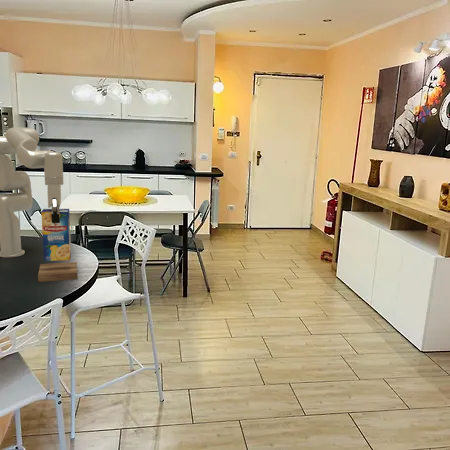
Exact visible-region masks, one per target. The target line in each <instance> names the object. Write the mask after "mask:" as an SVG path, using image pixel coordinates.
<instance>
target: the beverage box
mask: <svg viewBox="0 0 450 450" xmlns="http://www.w3.org/2000/svg"><path fill="white" fill-rule="evenodd" d="M40 214H41V228H42V229H41V231H42V248H43V262H53V261H54V262H55V261H70V260H71V257H72V242H71V241H72V240H71V239H72V238H71V222H70V221H71V219H70V216H71V215H70V208H59V217H60V223H52V217H51V214H52V208H43V209H42V210H41V213H40Z"/></svg>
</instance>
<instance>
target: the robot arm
mask: <svg viewBox="0 0 450 450" xmlns="http://www.w3.org/2000/svg"><path fill="white" fill-rule="evenodd" d="M39 142H40V135H39V132H38V131H37V130H36V129H35V128H33V127H22V126H21V127H18V126H17V127H11V128H8V129H7V130H6V131H5V133H4V135H0V191H3V192H6V191H7V192H8V191H18V192H10V193H2V194H0V257H1V258H16V257H21V256H23V255H24V254H25V250H24V249H22V242H21V241H22V240H21V225H20V223H21V222H20V219H19V217H18V216H17V215H16V214H15V213H17V212H23V211H28V210H30V209H32V207H33V203H34V202H33V194H32V192H33V191H32V182H31V178H30V176H29V174H28V173H27V172H26V171H23V170H14V165H13V161H12V159H11V158H10V157H9V156H8V155H16V158H17V160H18V161H19V163H21V164H22V166H23V167H26V168H28V169H43V170H44V172H43V173H44V185H45V186H47V207H48V209H52V214H51V217H52V223H60V217H59V209H60V207H61V202H62V201H61V200H62V192H61V191H62V189H61V188H62V186H63V185H64V183H65V182H64V164H63V161H64V160H63V154H62V152H57V151H54V150H53V151H52V150H37V148H38V147H37V146H38V143H39Z"/></svg>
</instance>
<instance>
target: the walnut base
mask: <svg viewBox="0 0 450 450" xmlns="http://www.w3.org/2000/svg"><path fill="white" fill-rule="evenodd" d="M70 280H71V281H72V280H73V281H74V280H78V261H71V262H54V263H53V262H52V263H40V264H39V269H38V274H37V281H38V282H39V283H44V282H57V281H58V282H59V281H70Z"/></svg>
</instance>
